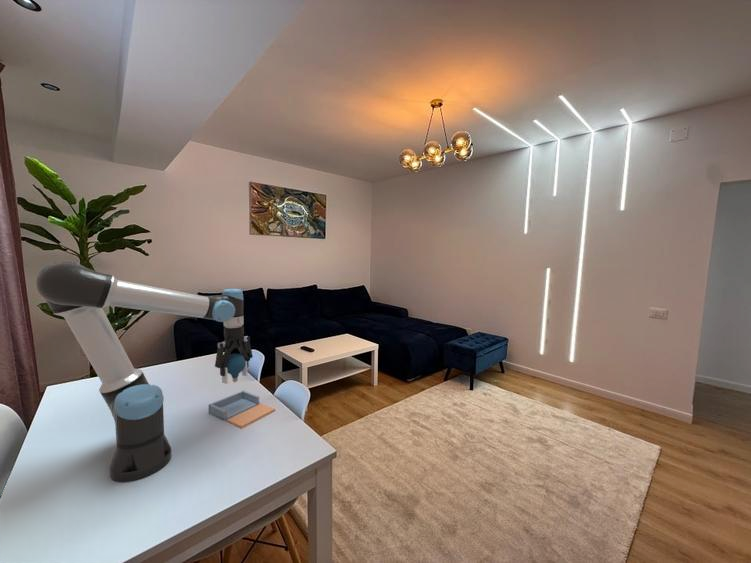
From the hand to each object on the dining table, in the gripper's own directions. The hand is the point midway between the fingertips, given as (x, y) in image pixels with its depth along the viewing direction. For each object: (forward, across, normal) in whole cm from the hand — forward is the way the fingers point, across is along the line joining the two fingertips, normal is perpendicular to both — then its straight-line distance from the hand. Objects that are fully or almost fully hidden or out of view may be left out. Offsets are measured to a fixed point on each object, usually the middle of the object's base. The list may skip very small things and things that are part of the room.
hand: (235, 379), depth 127 cm
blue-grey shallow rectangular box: (+13, 0, 0) cm, 13 cm away
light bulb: (+2, 0, 0) cm, 2 cm away
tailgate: (+13, 0, -6) cm, 14 cm away
